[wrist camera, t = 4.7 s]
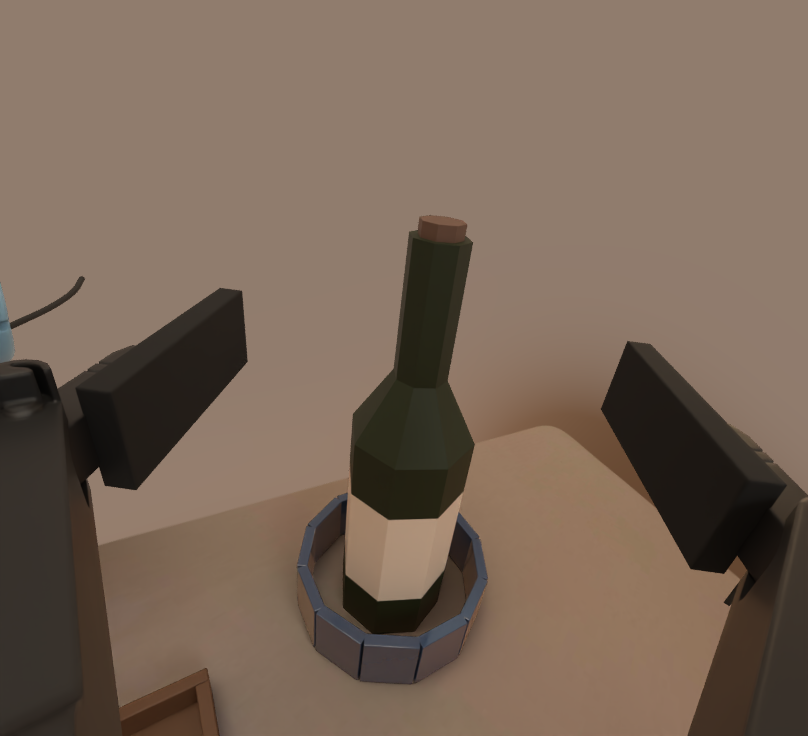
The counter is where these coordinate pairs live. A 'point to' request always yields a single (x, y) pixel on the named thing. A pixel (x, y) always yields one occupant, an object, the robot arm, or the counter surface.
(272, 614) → the counter surface
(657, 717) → the counter surface
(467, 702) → the counter surface
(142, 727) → the tray
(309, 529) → the segmented polygonal ring
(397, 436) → the wine bottle
